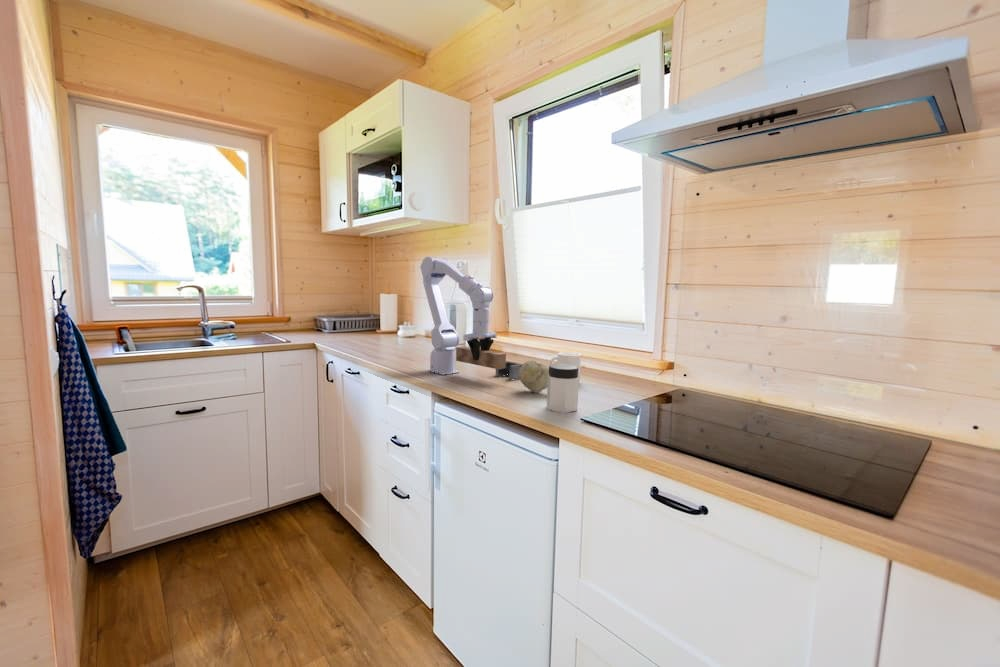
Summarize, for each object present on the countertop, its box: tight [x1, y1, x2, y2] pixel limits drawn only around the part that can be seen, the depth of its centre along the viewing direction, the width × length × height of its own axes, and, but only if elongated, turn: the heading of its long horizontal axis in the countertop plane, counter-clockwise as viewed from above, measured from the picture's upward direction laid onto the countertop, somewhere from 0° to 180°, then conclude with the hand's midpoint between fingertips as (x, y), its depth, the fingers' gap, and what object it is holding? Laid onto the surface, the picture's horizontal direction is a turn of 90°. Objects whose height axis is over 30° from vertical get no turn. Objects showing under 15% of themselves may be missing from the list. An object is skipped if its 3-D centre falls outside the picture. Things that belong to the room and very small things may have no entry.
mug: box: [549, 351, 582, 382], centre depth 159 cm, size 12×8×10 cm
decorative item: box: [518, 360, 550, 394], centre depth 142 cm, size 12×9×10 cm
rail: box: [455, 346, 507, 370], centre depth 158 cm, size 22×4×5 cm, turn 46°
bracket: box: [495, 360, 524, 380], centre depth 164 cm, size 10×7×5 cm
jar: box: [546, 363, 580, 414], centre depth 123 cm, size 9×8×12 cm
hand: (479, 359), depth 158 cm, fingers closed on rail, 3 cm apart
